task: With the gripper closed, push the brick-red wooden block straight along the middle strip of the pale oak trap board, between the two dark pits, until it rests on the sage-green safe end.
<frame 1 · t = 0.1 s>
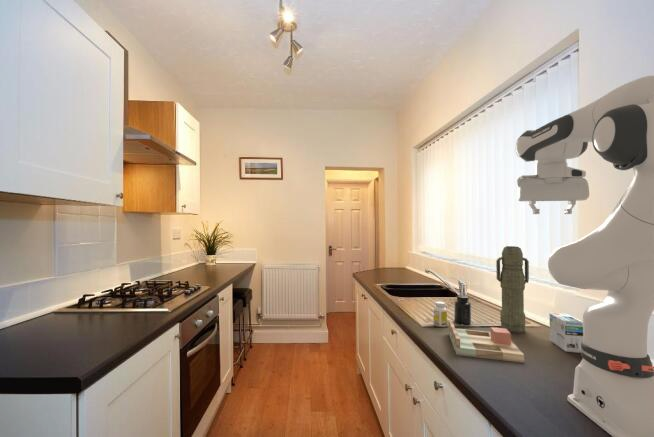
hand: (551, 214, 101), 48 cm above the worktop, tool pointing down, fingers open, 8 cm apart
thermos: (512, 329, 125), on the worktop
trap board: (482, 346, 106), on the worktop
supplement bottle 2: (440, 325, 130), on the worktop
supplement bottle: (462, 323, 133), on the worktop
block: (500, 341, 105), point 2 cm above the worktop, touching trap board
light bulb box: (567, 347, 107), on the worktop
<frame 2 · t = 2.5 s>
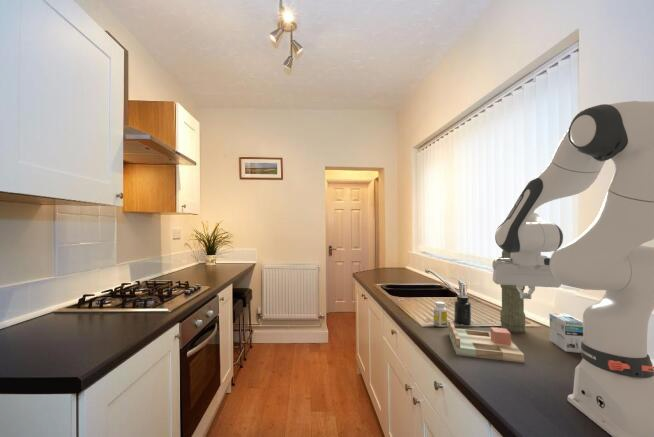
hand: (525, 298, 103), 18 cm above the worktop, tool pointing down, fingers closed
nothing on the worktop moved.
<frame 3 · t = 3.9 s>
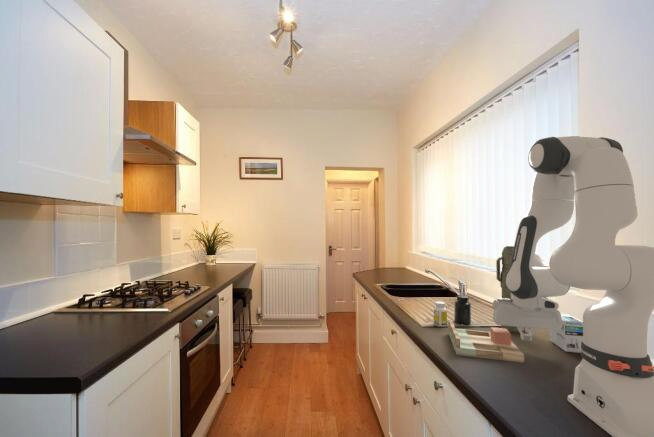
hand: (526, 339, 103), 4 cm above the worktop, tool pointing down, fingers closed
nothing on the worktop moved.
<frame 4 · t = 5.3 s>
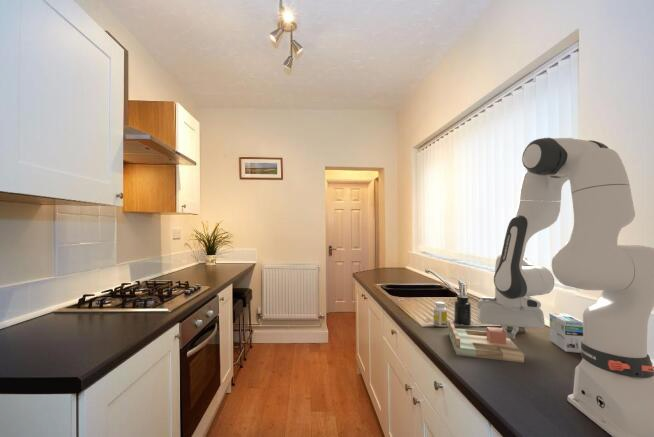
hand: (509, 338, 104), 4 cm above the worktop, tool pointing down, fingers closed
block: (496, 341, 105), point 3 cm above the worktop, touching gripper, trap board
everything else where it was.
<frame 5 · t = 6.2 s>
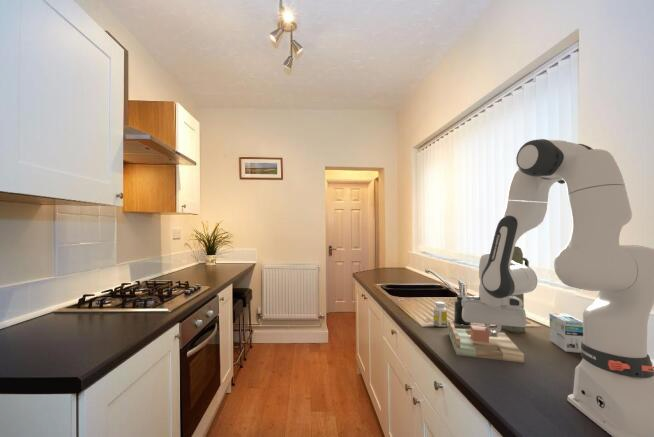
hand: (492, 336, 106), 4 cm above the worktop, tool pointing down, fingers closed
block: (479, 339, 107), point 3 cm above the worktop, touching gripper, trap board
everything else where it was.
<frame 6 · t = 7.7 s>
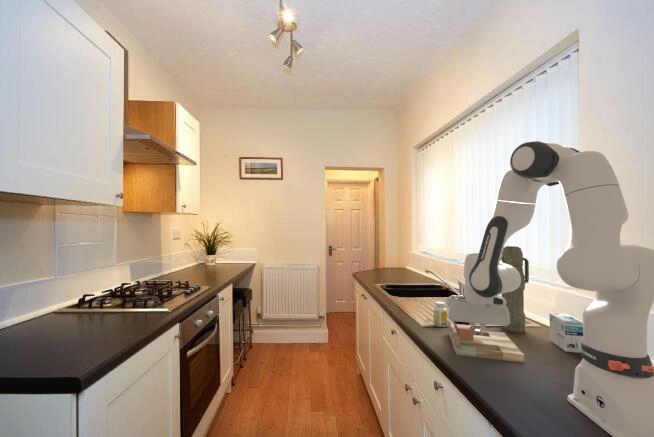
hand: (477, 335, 107), 4 cm above the worktop, tool pointing down, fingers closed
block: (464, 337, 108), point 2 cm above the worktop, touching gripper, trap board
everything else where it was.
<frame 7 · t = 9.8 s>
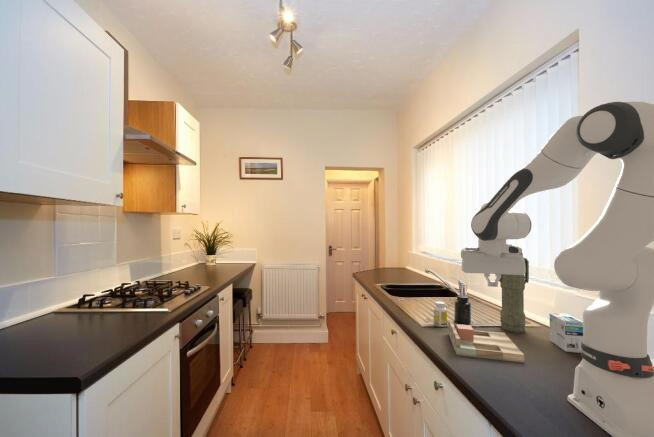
hand: (492, 286, 106), 22 cm above the worktop, tool pointing down, fingers closed
block: (464, 337, 108), point 2 cm above the worktop, touching trap board
everything else where it was.
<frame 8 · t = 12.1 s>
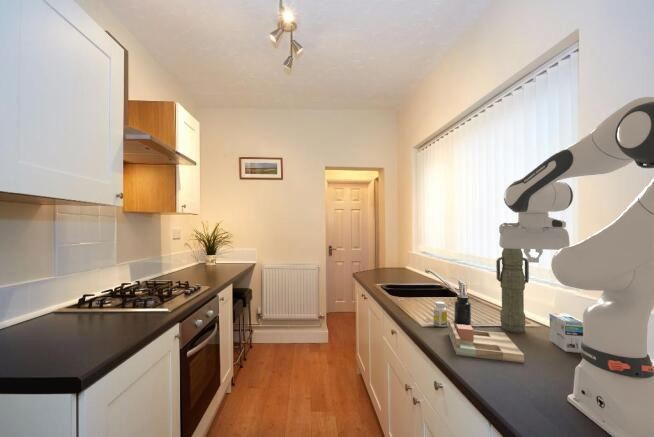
hand: (533, 262, 102), 31 cm above the worktop, tool pointing down, fingers closed
nothing on the worktop moved.
at the end: block 0.8 cm from the target spot on the trap board, point 2.5 cm above the trap board's base; block tilted 0° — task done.
